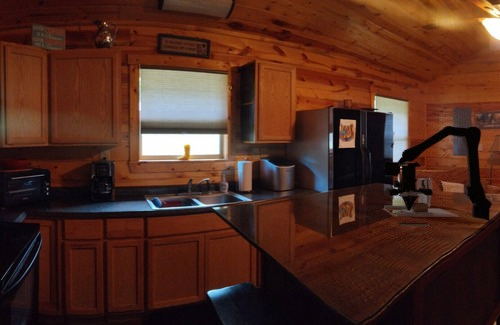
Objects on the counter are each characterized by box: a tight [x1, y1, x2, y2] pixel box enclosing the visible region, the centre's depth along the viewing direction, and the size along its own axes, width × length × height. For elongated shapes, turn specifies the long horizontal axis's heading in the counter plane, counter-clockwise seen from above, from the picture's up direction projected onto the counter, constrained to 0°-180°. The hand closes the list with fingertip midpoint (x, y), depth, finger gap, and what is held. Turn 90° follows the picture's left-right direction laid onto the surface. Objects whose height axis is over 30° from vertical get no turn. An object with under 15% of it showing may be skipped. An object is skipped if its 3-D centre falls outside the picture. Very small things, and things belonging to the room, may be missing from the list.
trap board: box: [382, 205, 461, 218], centre depth 148 cm, size 17×27×3 cm, turn 85°
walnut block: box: [412, 202, 429, 212], centre depth 147 cm, size 5×5×4 cm
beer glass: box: [416, 177, 433, 208], centre depth 162 cm, size 7×7×15 cm
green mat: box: [396, 222, 430, 227], centre depth 134 cm, size 11×11×1 cm
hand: (408, 210), depth 148 cm, fingers closed
